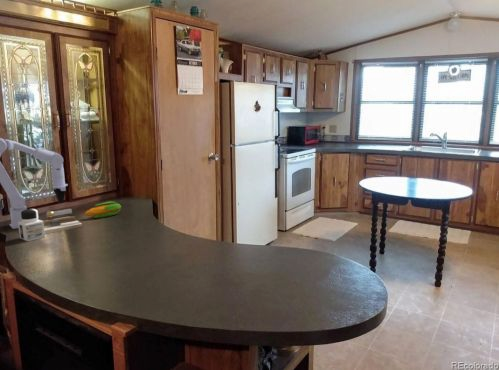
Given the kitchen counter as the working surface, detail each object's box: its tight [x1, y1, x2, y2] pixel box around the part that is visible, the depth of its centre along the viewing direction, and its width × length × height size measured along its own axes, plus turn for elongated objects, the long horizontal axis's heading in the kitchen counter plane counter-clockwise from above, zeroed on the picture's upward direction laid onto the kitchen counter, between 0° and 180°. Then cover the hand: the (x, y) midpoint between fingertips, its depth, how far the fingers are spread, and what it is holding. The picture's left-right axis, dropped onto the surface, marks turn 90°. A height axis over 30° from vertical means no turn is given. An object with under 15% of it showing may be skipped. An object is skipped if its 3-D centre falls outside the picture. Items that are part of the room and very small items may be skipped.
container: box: [18, 208, 46, 242], centre depth 173 cm, size 8×8×13 cm
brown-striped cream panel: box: [42, 215, 83, 235], centre depth 191 cm, size 19×17×4 cm
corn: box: [84, 201, 122, 219], centre depth 208 cm, size 7×8×20 cm
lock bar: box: [46, 208, 73, 218], centre depth 195 cm, size 12×3×2 cm, turn 131°
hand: (61, 202), depth 201 cm, fingers closed
